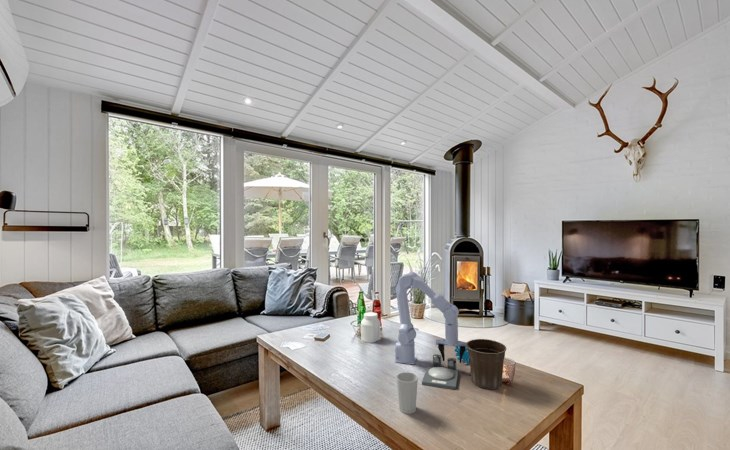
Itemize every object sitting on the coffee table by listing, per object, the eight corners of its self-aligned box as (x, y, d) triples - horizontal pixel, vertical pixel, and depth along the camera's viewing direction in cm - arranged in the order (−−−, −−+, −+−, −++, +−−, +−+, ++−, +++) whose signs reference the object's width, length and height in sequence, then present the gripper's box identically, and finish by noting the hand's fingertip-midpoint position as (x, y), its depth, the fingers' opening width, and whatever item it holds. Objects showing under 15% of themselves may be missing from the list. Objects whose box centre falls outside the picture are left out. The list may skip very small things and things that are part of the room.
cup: (395, 403, 128) (394, 372, 127) (415, 402, 128) (415, 371, 128) (398, 415, 120) (398, 382, 120) (420, 414, 120) (420, 381, 120)
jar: (370, 344, 190) (369, 317, 190) (358, 340, 196) (358, 314, 196) (383, 338, 198) (383, 313, 198) (371, 334, 205) (371, 310, 205)
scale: (421, 384, 142) (421, 379, 142) (427, 368, 157) (427, 364, 157) (455, 389, 138) (455, 384, 138) (458, 372, 153) (458, 368, 153)
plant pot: (487, 396, 132) (487, 356, 132) (458, 379, 146) (458, 343, 146) (515, 386, 140) (515, 348, 139) (485, 371, 154) (484, 336, 154)
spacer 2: (447, 371, 154) (447, 360, 154) (448, 367, 158) (447, 357, 158) (456, 372, 153) (455, 361, 153) (456, 368, 157) (456, 358, 157)
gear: (461, 363, 159) (452, 343, 165) (454, 369, 162) (446, 349, 169) (478, 361, 164) (469, 342, 170) (471, 367, 167) (462, 348, 174)
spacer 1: (432, 367, 159) (432, 357, 158) (433, 364, 162) (433, 353, 162) (441, 368, 157) (440, 358, 157) (442, 365, 161) (441, 354, 161)
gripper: (434, 333, 154) (435, 362, 154) (467, 336, 149) (467, 366, 149) (436, 328, 161) (437, 356, 161) (468, 331, 156) (468, 360, 156)
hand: (452, 361), depth 155 cm, fingers open, 7 cm apart
